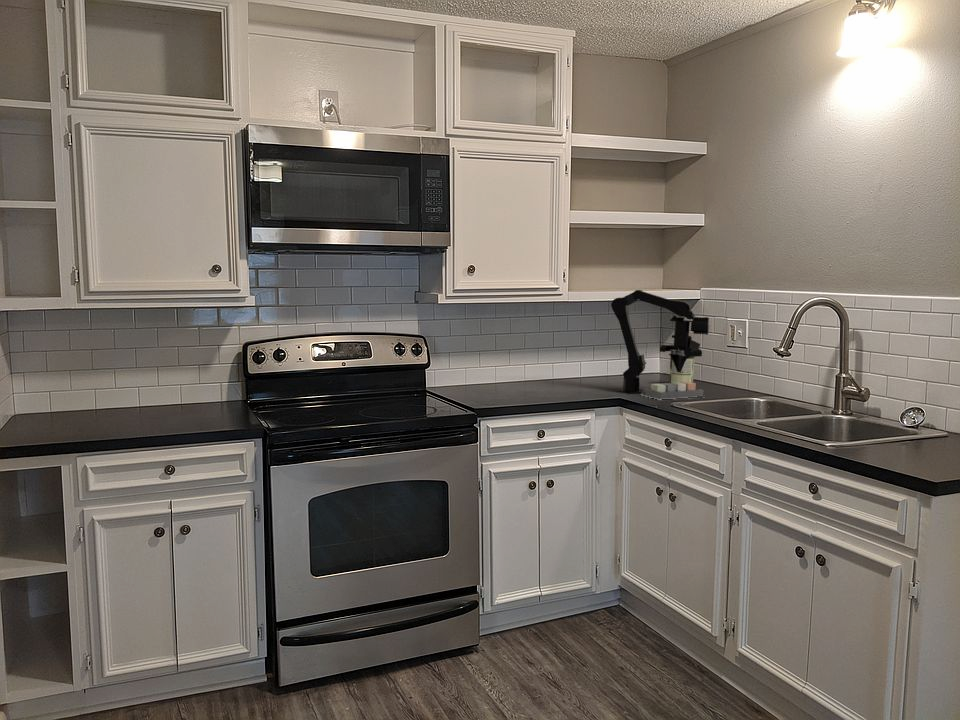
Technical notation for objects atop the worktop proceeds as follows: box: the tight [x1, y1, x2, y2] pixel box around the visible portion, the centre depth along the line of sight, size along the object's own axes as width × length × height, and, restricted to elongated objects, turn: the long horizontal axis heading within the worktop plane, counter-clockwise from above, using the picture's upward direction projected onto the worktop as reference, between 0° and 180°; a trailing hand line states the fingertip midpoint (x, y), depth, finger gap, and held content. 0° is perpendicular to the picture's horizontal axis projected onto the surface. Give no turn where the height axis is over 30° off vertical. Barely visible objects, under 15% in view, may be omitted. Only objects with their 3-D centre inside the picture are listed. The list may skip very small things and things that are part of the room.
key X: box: [661, 382, 676, 392], centre depth 312 cm, size 4×4×3 cm
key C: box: [671, 383, 686, 391], centre depth 314 cm, size 4×4×3 cm
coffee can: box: [668, 356, 695, 383], centre depth 341 cm, size 10×10×14 cm
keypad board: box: [639, 387, 704, 401], centre depth 313 cm, size 11×24×3 cm, turn 118°
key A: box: [650, 383, 666, 392], centre depth 310 cm, size 4×4×3 cm
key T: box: [681, 382, 697, 390], centre depth 317 cm, size 4×4×3 cm
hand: (679, 372), depth 314 cm, fingers closed
